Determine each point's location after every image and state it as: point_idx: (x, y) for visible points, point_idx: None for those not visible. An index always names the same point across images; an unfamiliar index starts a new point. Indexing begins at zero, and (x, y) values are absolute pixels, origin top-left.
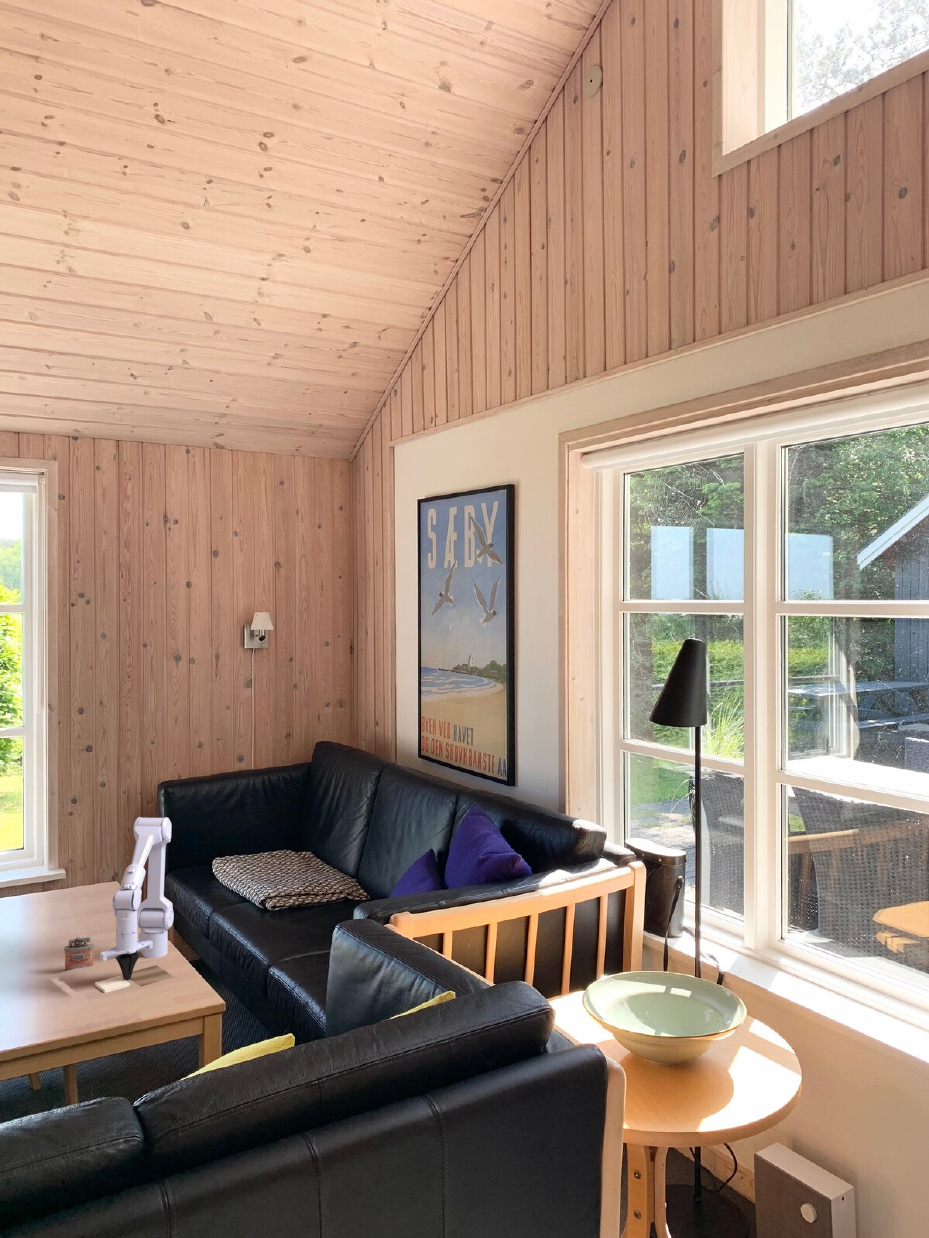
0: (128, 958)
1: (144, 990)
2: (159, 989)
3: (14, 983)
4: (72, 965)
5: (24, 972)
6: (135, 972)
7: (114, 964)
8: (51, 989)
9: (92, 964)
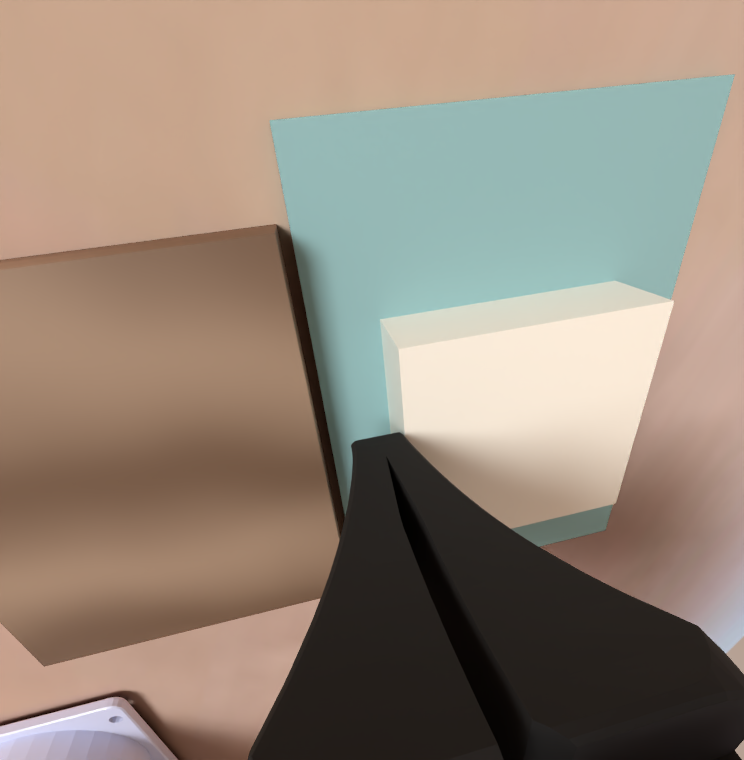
0: (606, 731)
1: None
2: (27, 140)
3: (721, 648)
4: None
5: None
6: (251, 591)
7: None
8: (694, 561)
9: None
